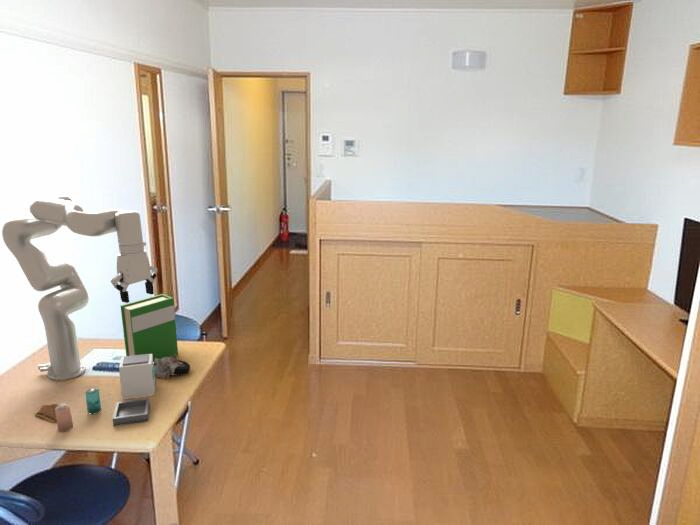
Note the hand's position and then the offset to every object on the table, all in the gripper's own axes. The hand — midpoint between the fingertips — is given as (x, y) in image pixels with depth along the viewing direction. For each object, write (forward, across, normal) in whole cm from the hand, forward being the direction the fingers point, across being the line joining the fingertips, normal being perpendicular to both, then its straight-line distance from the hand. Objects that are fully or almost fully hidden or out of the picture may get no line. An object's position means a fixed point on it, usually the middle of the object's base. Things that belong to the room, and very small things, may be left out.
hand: (138, 297), depth 176 cm
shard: (+34, +27, -12) cm, 45 cm away
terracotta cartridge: (+33, +30, -2) cm, 45 cm away
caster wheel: (+34, -12, -2) cm, 36 cm away
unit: (+34, +4, -1) cm, 34 cm away
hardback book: (+34, -16, -18) cm, 41 cm away
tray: (+34, +14, +10) cm, 38 cm away
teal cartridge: (+34, +19, -3) cm, 39 cm away
